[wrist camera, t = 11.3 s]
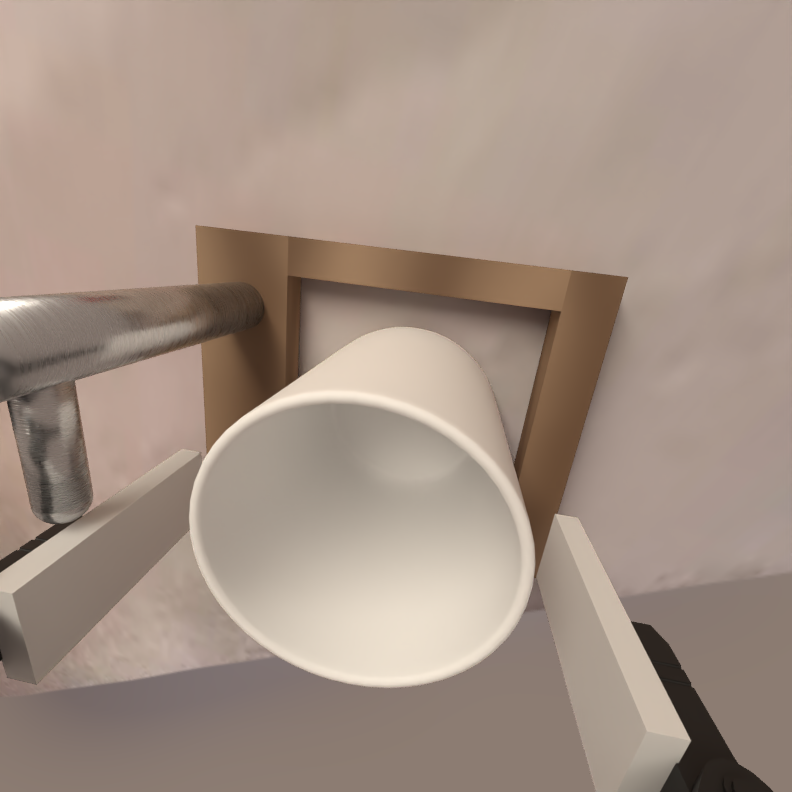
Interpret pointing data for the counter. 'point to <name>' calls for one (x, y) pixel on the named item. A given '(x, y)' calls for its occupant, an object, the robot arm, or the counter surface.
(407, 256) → the brown wooden u-shaped piece
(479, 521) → the mug
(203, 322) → the hook post
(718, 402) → the counter surface
